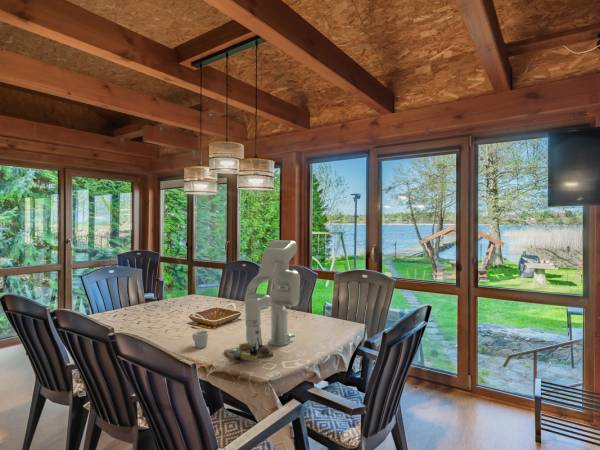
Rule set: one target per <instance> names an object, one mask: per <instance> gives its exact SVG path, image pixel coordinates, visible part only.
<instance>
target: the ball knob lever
mask: <svg viewBox="0 0 600 450" xmlns="http://www.w3.org/2000/svg"><path fill="white" fill-rule="evenodd" d="M262 345H263V344H262ZM262 345H259V344H258V346H259V347H262ZM238 347H239V350H243V349H248V348H250V346H249V343H248V342H247V341H246V342H242V343H239V344H238Z"/></svg>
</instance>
